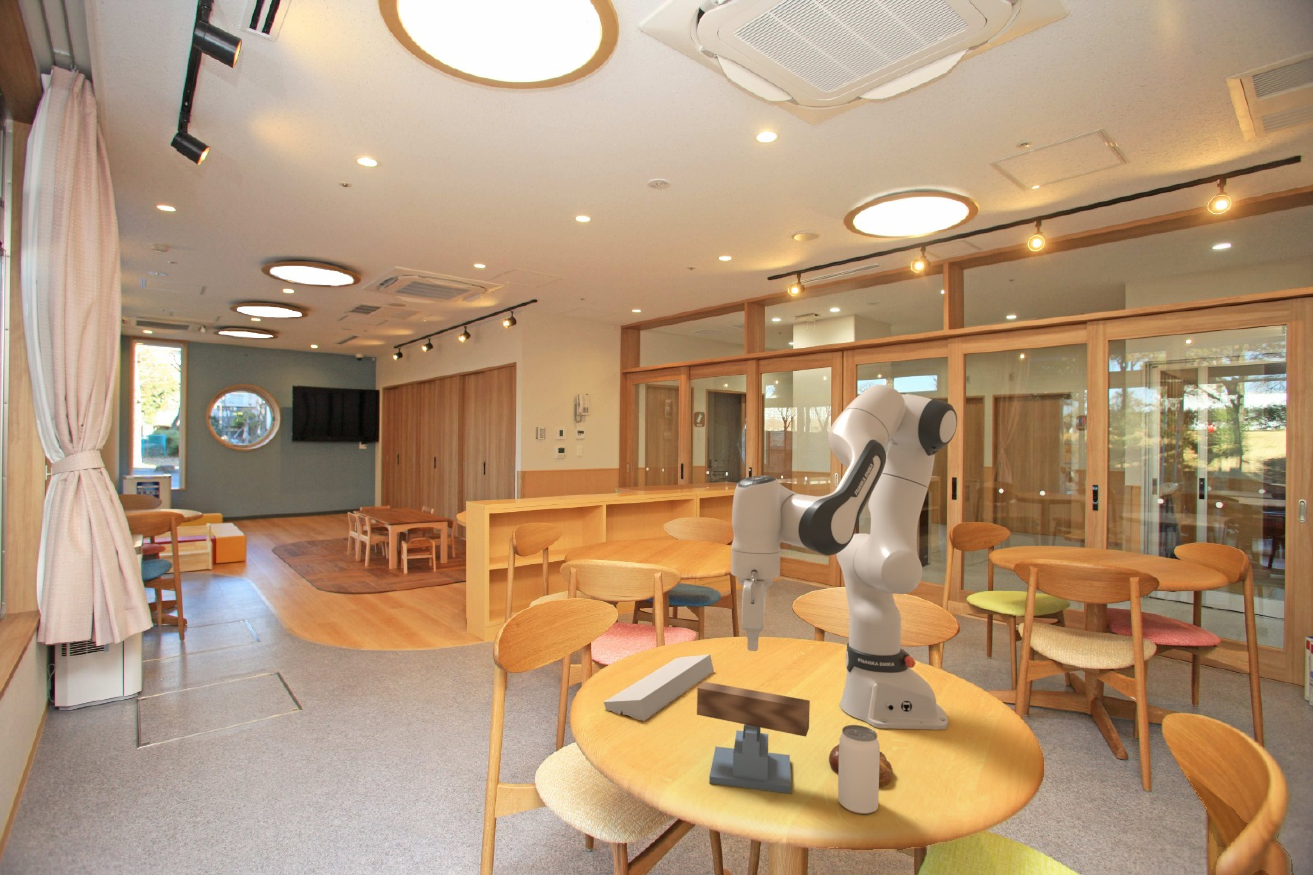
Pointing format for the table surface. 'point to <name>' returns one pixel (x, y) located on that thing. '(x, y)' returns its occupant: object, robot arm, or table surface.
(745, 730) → the gray stepped block
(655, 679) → the beige long block
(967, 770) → the table surface
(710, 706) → the walnut bar
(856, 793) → the can
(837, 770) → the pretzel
